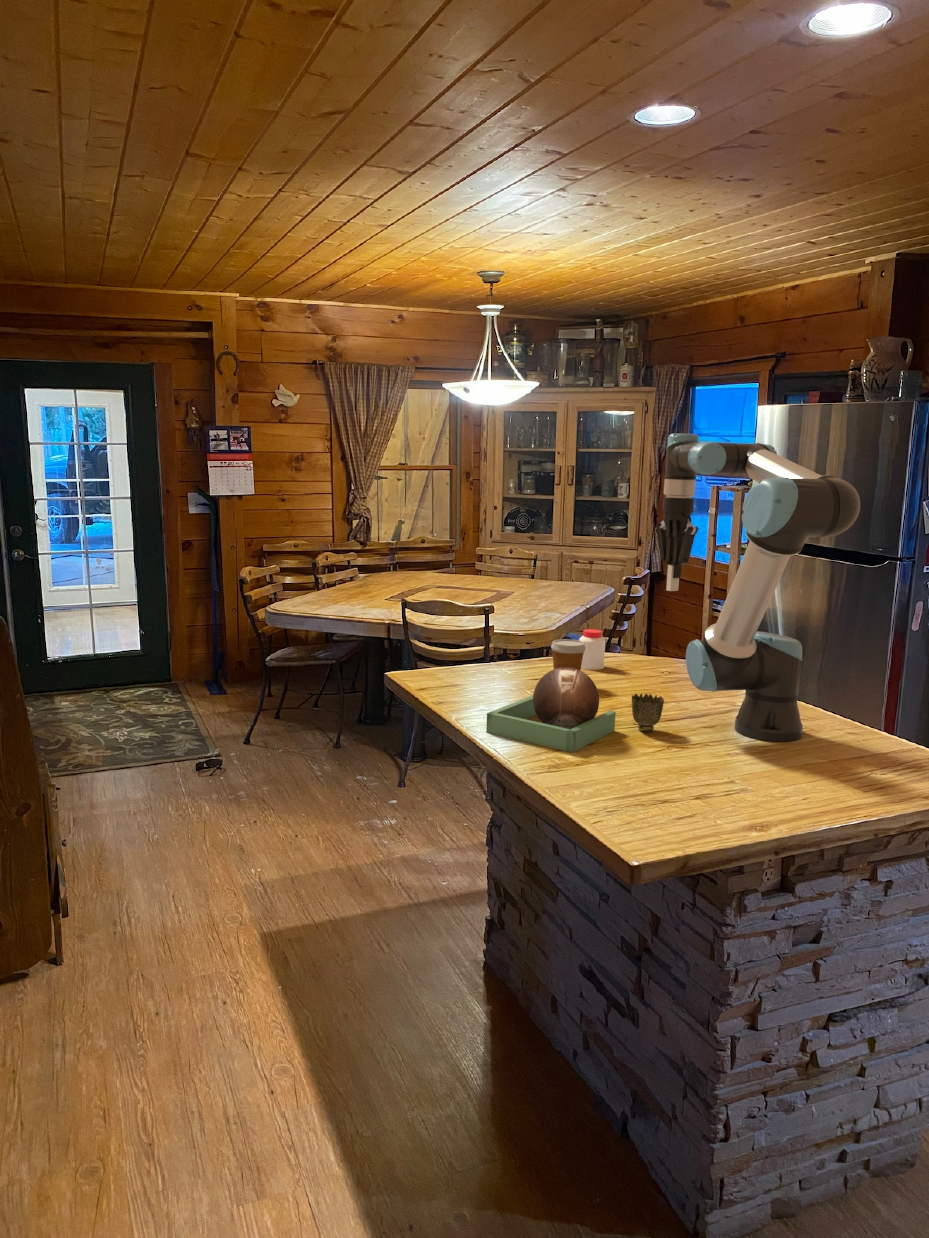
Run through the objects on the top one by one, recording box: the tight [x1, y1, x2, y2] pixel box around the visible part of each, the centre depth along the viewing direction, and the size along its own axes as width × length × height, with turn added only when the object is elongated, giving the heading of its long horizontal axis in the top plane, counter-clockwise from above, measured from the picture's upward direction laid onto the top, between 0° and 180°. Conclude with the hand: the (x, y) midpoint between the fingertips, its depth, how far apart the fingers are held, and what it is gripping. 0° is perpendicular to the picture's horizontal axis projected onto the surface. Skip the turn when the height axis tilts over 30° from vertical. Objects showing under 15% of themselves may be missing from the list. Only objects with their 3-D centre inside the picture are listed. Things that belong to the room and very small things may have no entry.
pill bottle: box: [578, 628, 606, 671], centre depth 274 cm, size 8×8×11 cm
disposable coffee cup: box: [550, 638, 586, 671], centre depth 252 cm, size 10×10×12 cm
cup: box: [631, 693, 665, 733], centre depth 212 cm, size 8×7×8 cm
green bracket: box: [485, 695, 617, 753], centre depth 210 cm, size 20×22×4 cm
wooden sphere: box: [532, 667, 600, 729], centre depth 209 cm, size 15×15×15 cm
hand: (672, 590), depth 232 cm, fingers closed
